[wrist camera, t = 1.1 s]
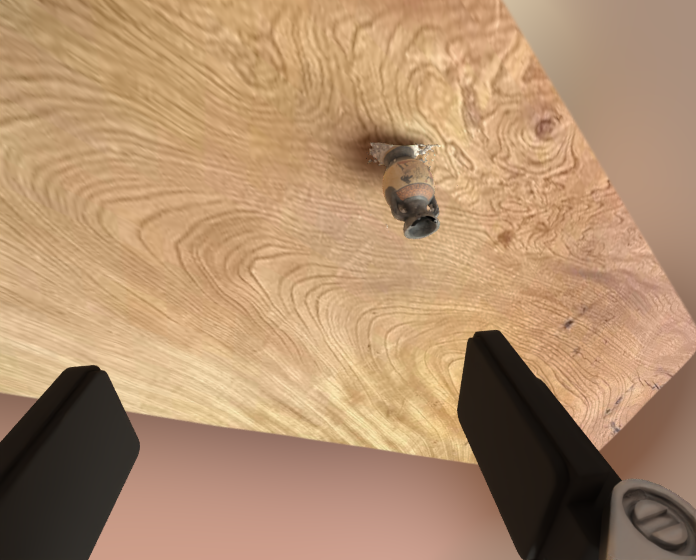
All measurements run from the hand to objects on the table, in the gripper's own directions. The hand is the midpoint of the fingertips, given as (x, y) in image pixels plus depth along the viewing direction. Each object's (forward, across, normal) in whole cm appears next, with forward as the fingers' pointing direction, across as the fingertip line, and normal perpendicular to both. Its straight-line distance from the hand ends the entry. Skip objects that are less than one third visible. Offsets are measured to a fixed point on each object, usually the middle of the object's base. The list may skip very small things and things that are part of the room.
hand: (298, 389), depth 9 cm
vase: (+19, -7, -1) cm, 21 cm away
